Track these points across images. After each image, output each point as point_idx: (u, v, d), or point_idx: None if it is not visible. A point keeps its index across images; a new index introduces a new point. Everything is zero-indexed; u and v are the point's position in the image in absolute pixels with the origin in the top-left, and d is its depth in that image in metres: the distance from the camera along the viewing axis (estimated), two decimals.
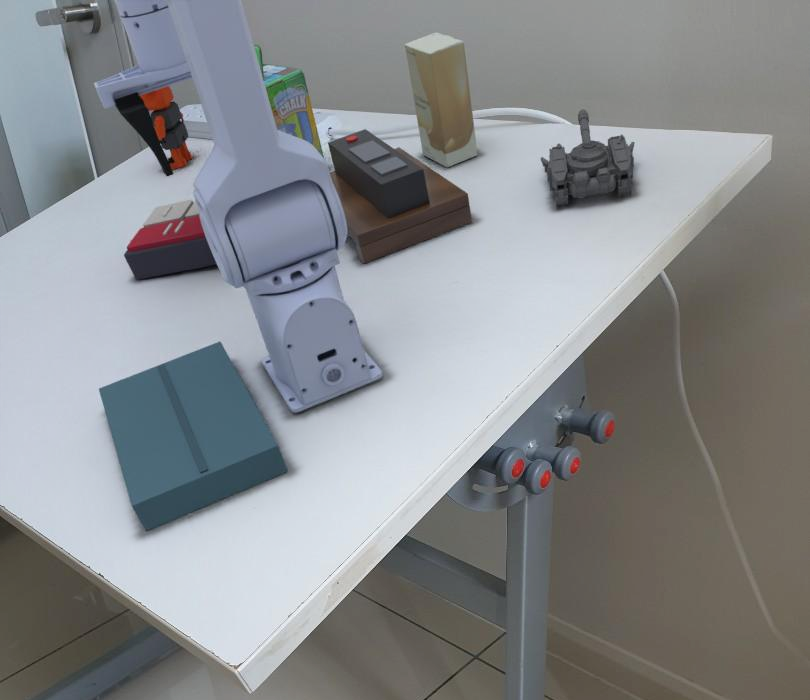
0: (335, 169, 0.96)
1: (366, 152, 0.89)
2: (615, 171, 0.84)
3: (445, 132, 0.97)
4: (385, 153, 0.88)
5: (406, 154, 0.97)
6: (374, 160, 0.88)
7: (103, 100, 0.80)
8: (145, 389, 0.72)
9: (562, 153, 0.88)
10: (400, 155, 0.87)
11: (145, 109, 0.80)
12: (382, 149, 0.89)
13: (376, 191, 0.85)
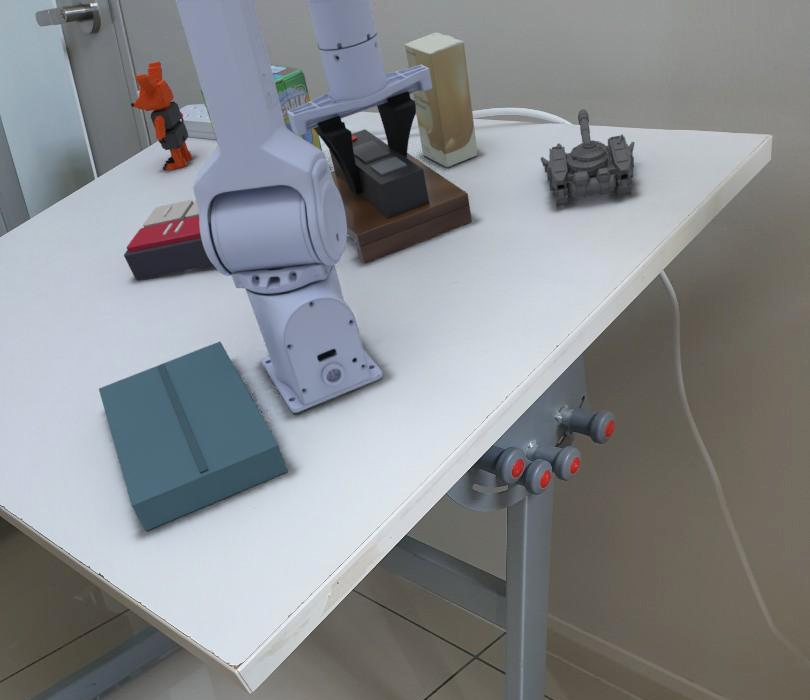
0: (335, 169, 0.96)
1: (366, 152, 0.89)
2: (615, 171, 0.84)
3: (445, 132, 0.97)
4: (385, 153, 0.88)
5: None
6: (373, 160, 0.88)
7: (297, 128, 0.84)
8: (145, 389, 0.72)
9: (562, 153, 0.88)
10: (400, 155, 0.87)
11: (349, 132, 0.84)
12: (382, 149, 0.89)
13: (376, 191, 0.85)
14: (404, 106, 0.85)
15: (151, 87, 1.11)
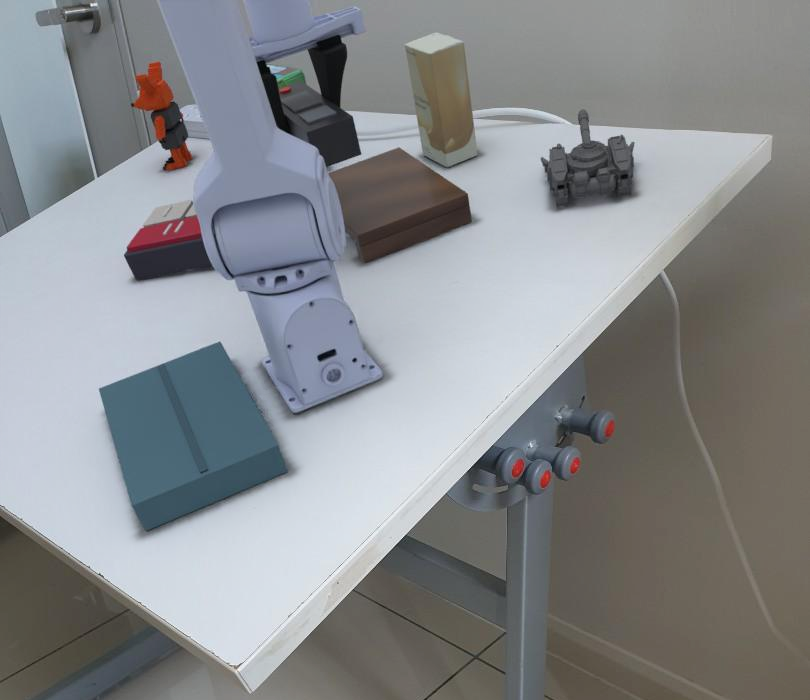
0: None
1: (297, 102, 0.83)
2: (615, 171, 0.84)
3: (445, 132, 0.97)
4: (316, 102, 0.82)
5: (406, 154, 0.97)
6: (303, 109, 0.82)
7: None
8: (145, 389, 0.72)
9: (562, 153, 0.88)
10: (331, 104, 0.81)
11: (273, 77, 0.78)
12: (314, 99, 0.83)
13: None
14: (334, 50, 0.79)
15: (151, 87, 1.11)
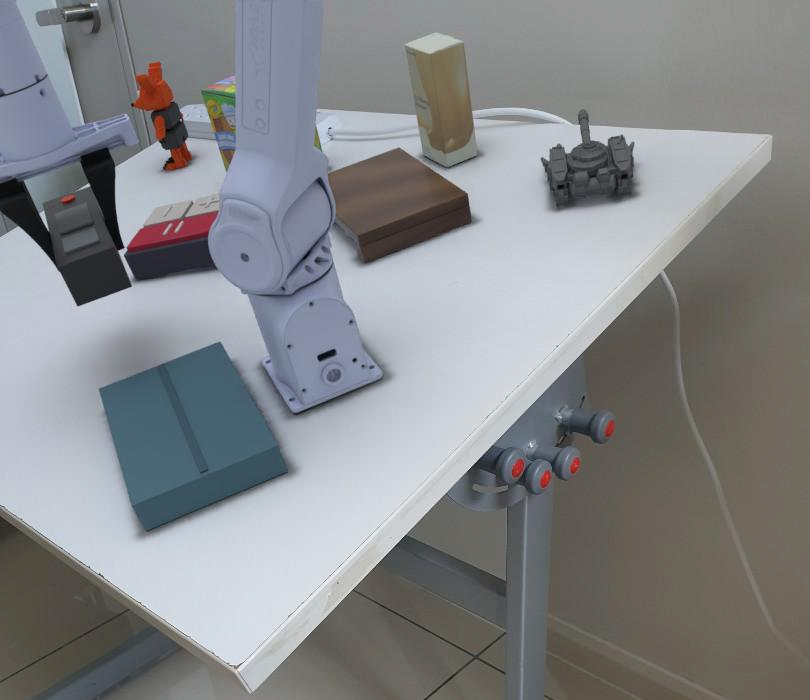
0: None
1: (69, 219, 0.72)
2: (615, 171, 0.84)
3: (445, 132, 0.97)
4: (87, 222, 0.71)
5: (406, 154, 0.97)
6: (71, 231, 0.71)
7: None
8: (145, 389, 0.72)
9: (562, 153, 0.88)
10: (102, 225, 0.70)
11: (24, 200, 0.67)
12: (87, 216, 0.72)
13: None
14: (97, 167, 0.68)
15: (151, 87, 1.11)
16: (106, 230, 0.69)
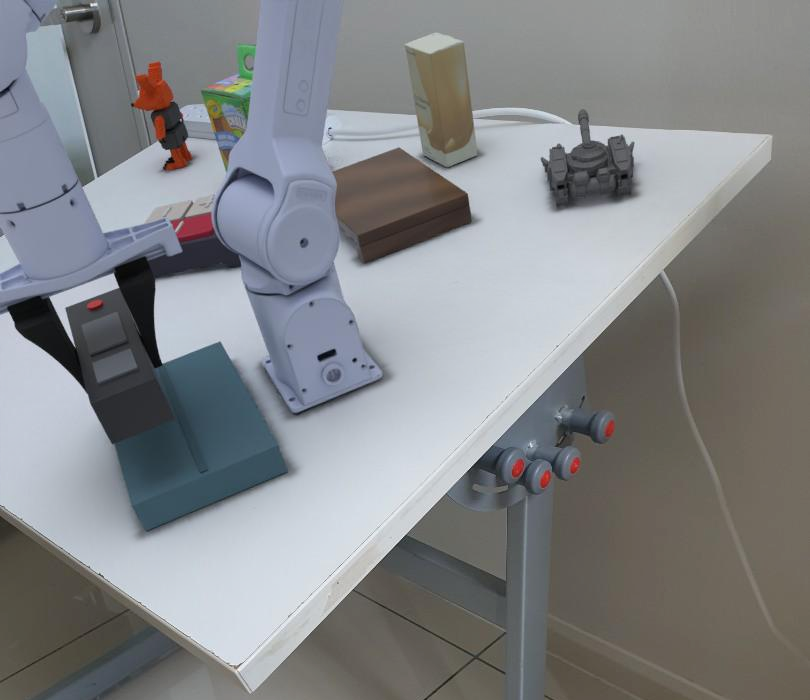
0: None
1: (99, 335, 0.63)
2: (615, 171, 0.84)
3: (445, 132, 0.97)
4: (120, 340, 0.61)
5: (406, 154, 0.97)
6: (103, 351, 0.61)
7: None
8: None
9: (562, 153, 0.88)
10: (139, 345, 0.61)
11: (49, 322, 0.57)
12: (120, 331, 0.62)
13: None
14: (134, 282, 0.58)
15: (151, 87, 1.11)
16: (144, 353, 0.60)
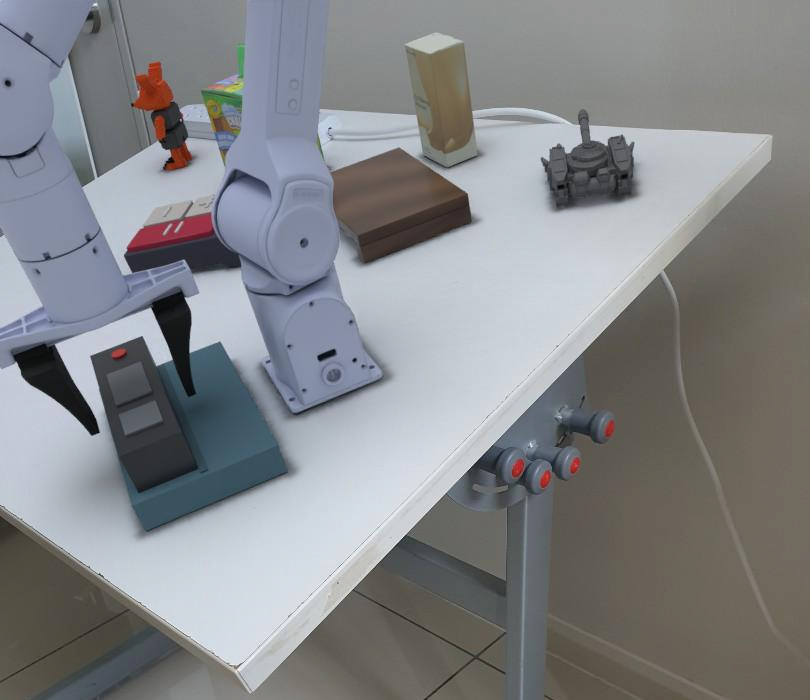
0: None
1: (124, 385, 0.66)
2: (615, 171, 0.84)
3: (445, 132, 0.97)
4: (145, 391, 0.64)
5: (406, 154, 0.97)
6: (128, 402, 0.64)
7: None
8: None
9: (562, 153, 0.88)
10: (163, 397, 0.64)
11: (54, 370, 0.59)
12: (145, 382, 0.65)
13: None
14: (172, 317, 0.60)
15: (151, 87, 1.11)
16: (168, 405, 0.63)
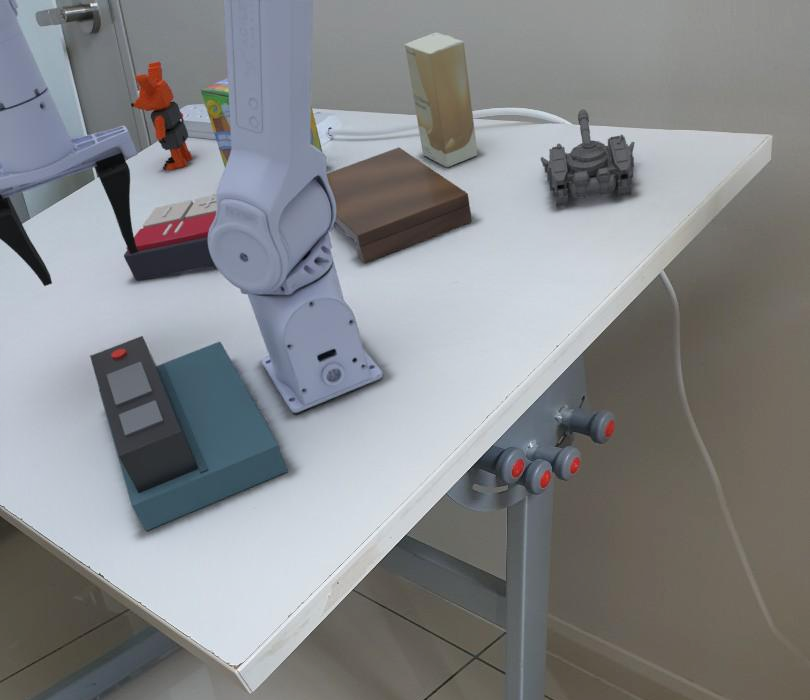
0: None
1: (124, 385, 0.66)
2: (615, 171, 0.84)
3: (445, 132, 0.97)
4: (145, 391, 0.64)
5: (406, 154, 0.97)
6: (128, 402, 0.64)
7: None
8: None
9: (562, 153, 0.88)
10: (163, 397, 0.64)
11: (8, 216, 0.68)
12: (145, 382, 0.65)
13: None
14: (112, 172, 0.69)
15: (151, 87, 1.11)
16: (168, 405, 0.63)
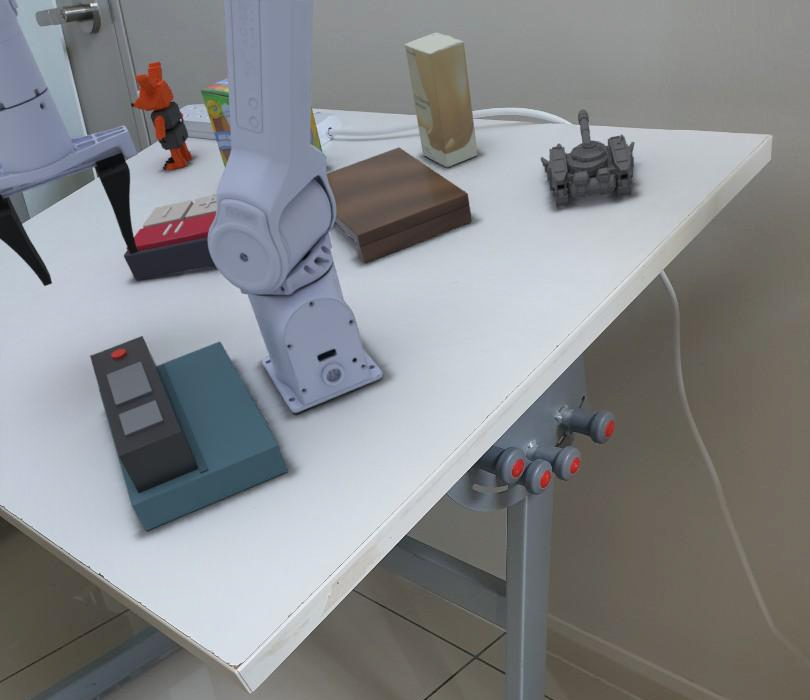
0: None
1: (124, 385, 0.66)
2: (615, 171, 0.84)
3: (445, 132, 0.97)
4: (145, 391, 0.64)
5: (406, 154, 0.97)
6: (128, 402, 0.64)
7: None
8: None
9: (562, 153, 0.88)
10: (163, 397, 0.64)
11: (8, 216, 0.68)
12: (145, 382, 0.65)
13: None
14: (112, 172, 0.69)
15: (151, 87, 1.11)
16: (168, 405, 0.63)
